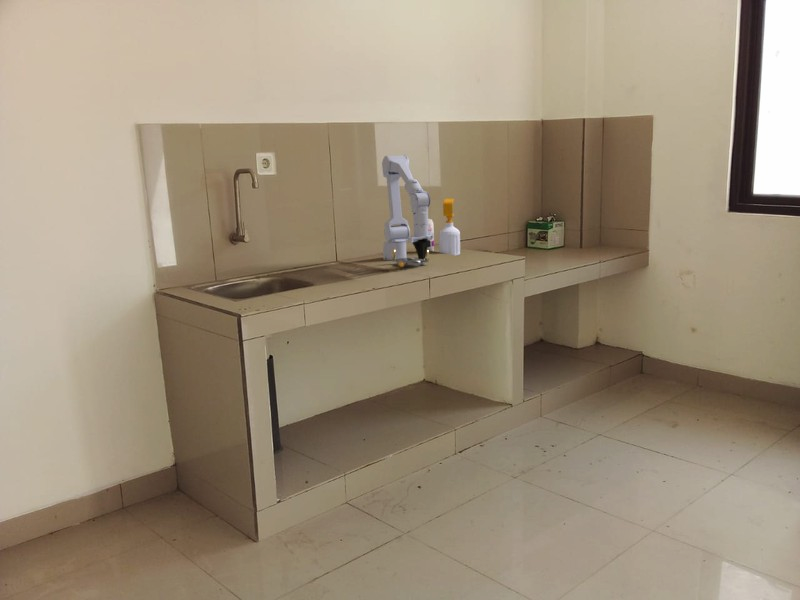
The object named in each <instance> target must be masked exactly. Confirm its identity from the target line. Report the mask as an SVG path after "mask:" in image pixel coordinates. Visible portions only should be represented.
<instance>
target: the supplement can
mask: <svg viewBox="0 0 800 600" xmlns="http://www.w3.org/2000/svg"><path fill="white" fill-rule="evenodd" d="M434 227H435V226H434V221H433V219H432V218H428V233H434V234H435V231H434V229H435V228H434ZM427 240H430V243H429V245H428V248H427V250H429V252H434V251H435V237H434V238H430V239H427ZM415 251H416V250H415ZM416 253H417V251H416Z"/></svg>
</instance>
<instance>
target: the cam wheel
mask: <svg viewBox="0 0 800 600" xmlns="http://www.w3.org/2000/svg"><path fill="white" fill-rule="evenodd" d="M391 261H392V262H395V263H396V266H397V267H400V268H417V267H422V266H424V265H425V263H429V262H430V251H429V250H427V251H426V255H425V259H419V258H418V256H417V257H415V256H414V257H413V256H409V257H407V258H400V259H396V249H392V260H391Z"/></svg>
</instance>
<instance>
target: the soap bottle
mask: <svg viewBox="0 0 800 600" xmlns="http://www.w3.org/2000/svg"><path fill="white" fill-rule="evenodd" d="M454 201H455V199H454V198H444V201H443V205H442V206H443V207H442V209H443V210H442V211H443V212H442V214H443V217H445V218H446V219H447V220H446V221H445V226H444V227H443V228H442V229H440V230H439V234H438V236H439V237H438V241H439V242H438V243H439V248H438V250H439V253H440V254H445V255H446V254H447V255H451V256H456V257H457V256H459V255H461V232H460V230H459V229H458V228H457V227H455V226H454V221H453V220H452V219H453V217H454V216H455V213H454V212H453V210H454V207H453V205H454Z"/></svg>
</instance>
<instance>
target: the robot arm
mask: <svg viewBox="0 0 800 600" xmlns="http://www.w3.org/2000/svg"><path fill="white" fill-rule="evenodd" d="M409 159H410V158H409V157H408V155H407V154H404V155H385V156H384V157H383V159H382V162H381V167H382V176H383V177H384V178H385V179H386V185H387V188H386V189H387V197H388V207H389V216H390V217H389V219H388V220H386V221H385V223H384V231H383V236H384V238H385V241H384V242H383V245H382V255H383V260H384V261H392V249H396V259H400V258H407V255H408V254H407V243H409V244H410V243H411V244H412V245H413V247H414V248H415V251H417V252H416V254H417V258H419V259H424V260H425V255H426V251H427V248H428V245H429V243H430V240H427V239H430V238H434V239H435V232H434V233H428V219H429V207H430V205H431V195H430V193H429V192H428V191H426V190H424V189H423V188H422V186H421V184H420V183H419V181H418V180H417V179H416V178H414V177H413V175H412V172H411V169H410V160H409ZM400 178H402V179H401V180H403V182H404V183H405V184H404V189H405V191H406V192H407V194H408V196H409V205H410V207H411V213H412V219H413V220H412V222H413V223H412V224H413V227H412V229H413V235H412V236H411V228H410V226H409V221H408V220H407V219H405V218H404V217H403V212H402V211H403V210H402V201H401V190H400V181H399V180H400Z"/></svg>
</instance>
